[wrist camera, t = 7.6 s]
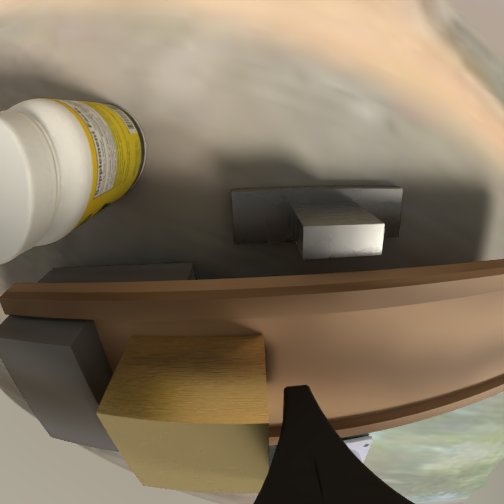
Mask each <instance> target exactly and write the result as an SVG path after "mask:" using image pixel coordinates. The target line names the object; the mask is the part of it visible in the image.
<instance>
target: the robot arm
mask: <svg viewBox="0 0 504 504" xmlns="http://www.w3.org/2000/svg"><path fill="white" fill-rule="evenodd" d="M372 442H373V439H372V437H371V436H365V437H360V438H355V439H349V440H342V439H341V438H340V436H339V435H338V434H337V432H336V431H335V429H334V428H333V427H332V425H331V424H330V422H329V421H328V419H327V418H326V416H325V415H324V413H323V412H322V410H321V408H320V407H319V405H318V403H317V401H316V399H315V398H314V396H313V394H312V392H311V390H310V387H309V386H308V385H298V386H287V387H286V388H284V397H283V422H282V427H281V433H280V437H279V441H278V444H277V448H276V451H275V455H274V458H273V461H272V463H271V466H270V469H269V471H268V474H267V476H266V479H265V481H264V483H263V486H262V488H261V490H260V492H259V494H258V496H257V498H256V500H255V502H254V504H414V503H413V502H411V501H409V500H408V499H406V498H405V497H403V496H402V495H400V494H399V493H397V492H396V491H395V490H393V489H392V488H391V487H389V486H388V485H387V484H386V483H384V482H383V481H382V480H381V479H380V478H378V477H377V476H376V475H375V474H374V473H373V472H372V471H370V470H369V469H368V468H367V467H366V466H365V465H364V464H363V461H364V459H365V457H366V455H367V453H368V451H369V448H370V446H371V444H372Z"/></svg>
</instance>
